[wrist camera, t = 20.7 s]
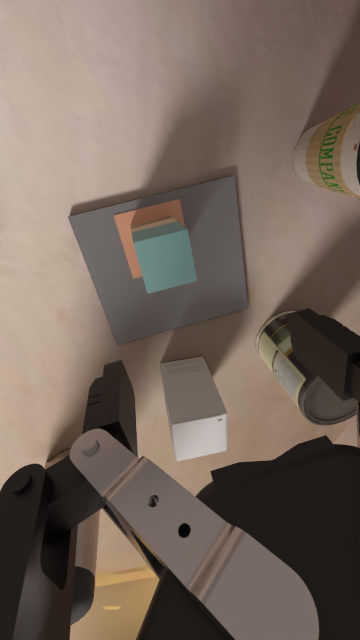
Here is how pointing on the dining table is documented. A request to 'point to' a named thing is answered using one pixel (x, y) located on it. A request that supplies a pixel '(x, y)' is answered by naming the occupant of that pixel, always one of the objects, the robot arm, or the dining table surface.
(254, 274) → the dining table surface
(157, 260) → the teal block
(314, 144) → the coffee cup
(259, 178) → the dining table surface
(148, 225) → the ash block
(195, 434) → the supplement box
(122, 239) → the baseplate
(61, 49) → the dining table surface
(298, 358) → the coffee can
